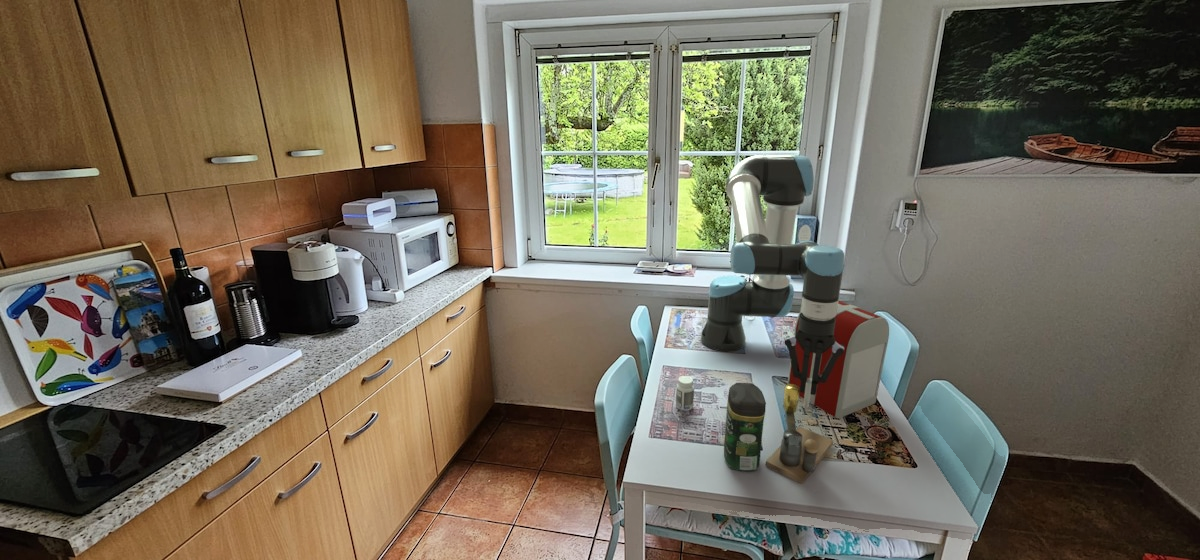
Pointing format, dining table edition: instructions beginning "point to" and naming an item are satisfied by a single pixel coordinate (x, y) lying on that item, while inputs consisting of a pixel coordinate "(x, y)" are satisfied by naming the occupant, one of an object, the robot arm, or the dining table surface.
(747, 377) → the dining table surface
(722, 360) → the dining table surface
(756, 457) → the coffee jar
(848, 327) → the red white arched box
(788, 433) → the lever
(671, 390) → the dining table surface
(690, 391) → the pill bottle
